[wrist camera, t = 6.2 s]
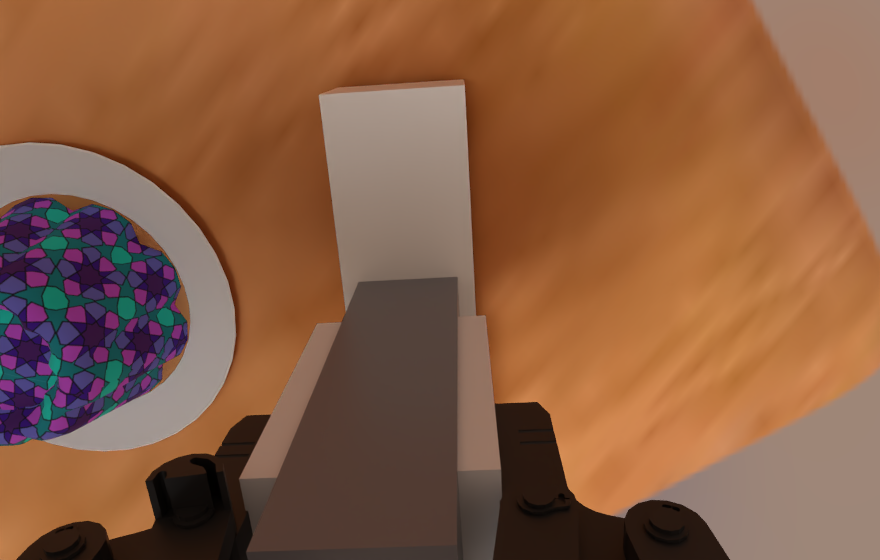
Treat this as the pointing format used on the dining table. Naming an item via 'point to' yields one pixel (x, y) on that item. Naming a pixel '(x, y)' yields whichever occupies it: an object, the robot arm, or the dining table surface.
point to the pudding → (102, 306)
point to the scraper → (386, 338)
